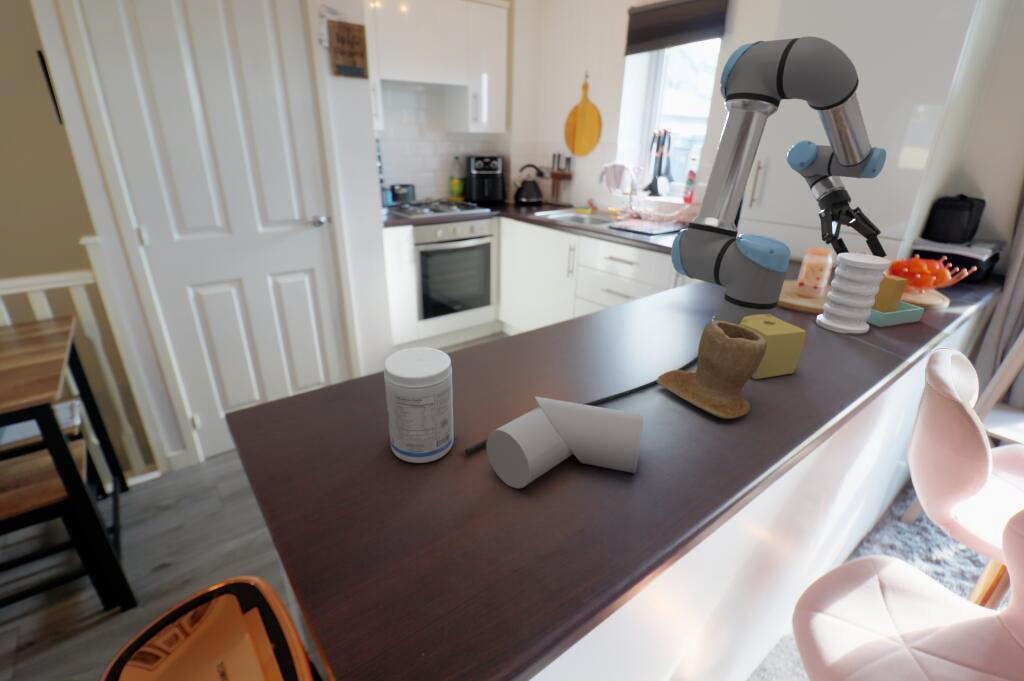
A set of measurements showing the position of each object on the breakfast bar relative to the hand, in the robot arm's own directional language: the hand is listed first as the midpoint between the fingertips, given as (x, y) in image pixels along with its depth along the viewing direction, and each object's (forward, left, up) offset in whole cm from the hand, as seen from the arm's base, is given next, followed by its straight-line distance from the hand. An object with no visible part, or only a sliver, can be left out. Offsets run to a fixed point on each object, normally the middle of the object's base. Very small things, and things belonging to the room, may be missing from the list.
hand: (864, 259), depth 132 cm
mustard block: (0, -9, -13) cm, 16 cm away
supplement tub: (-128, -28, -14) cm, 132 cm away
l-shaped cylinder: (-108, -39, -14) cm, 116 cm away
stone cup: (-76, -30, -14) cm, 83 cm away
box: (0, -9, -14) cm, 17 cm away
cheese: (-56, -22, -14) cm, 62 cm away
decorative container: (-16, -10, -14) cm, 24 cm away
